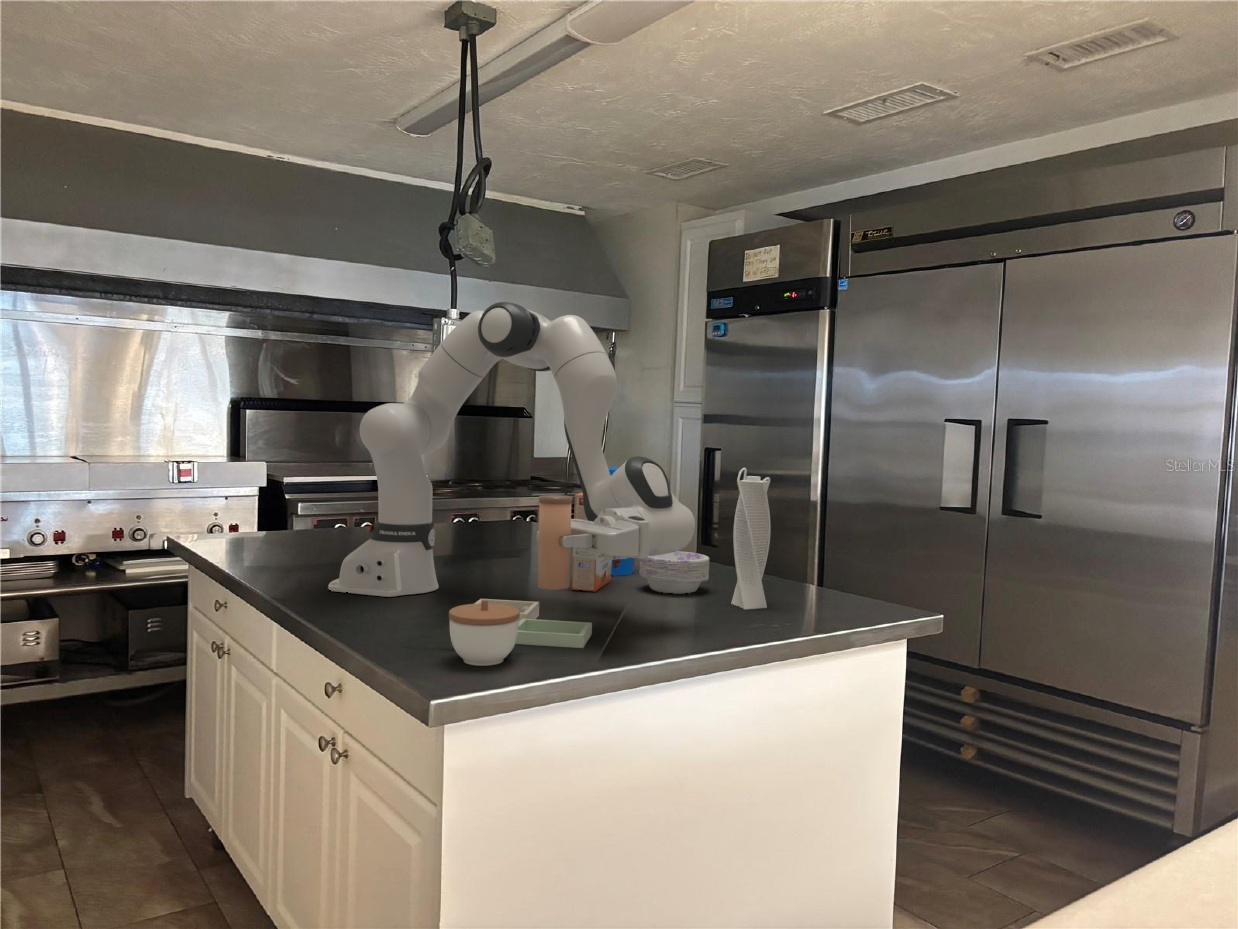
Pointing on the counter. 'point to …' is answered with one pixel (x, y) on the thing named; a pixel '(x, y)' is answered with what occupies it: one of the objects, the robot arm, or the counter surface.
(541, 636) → the sage tray
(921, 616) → the counter surface
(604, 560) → the cracker box
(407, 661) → the counter surface
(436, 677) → the counter surface
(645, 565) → the paper bowls
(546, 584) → the terracotta canister
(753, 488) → the skyscraper
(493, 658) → the lidded jar
